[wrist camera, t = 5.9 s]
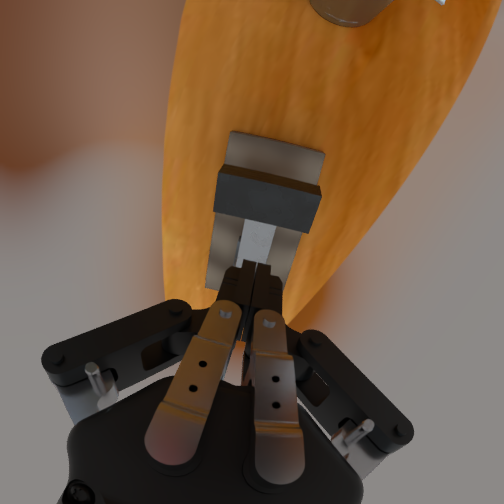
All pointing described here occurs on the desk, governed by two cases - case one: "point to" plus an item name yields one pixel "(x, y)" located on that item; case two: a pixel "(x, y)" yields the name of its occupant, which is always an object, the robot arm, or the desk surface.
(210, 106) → the desk surface
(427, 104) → the desk surface
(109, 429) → the robot arm
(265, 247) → the lever
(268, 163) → the base
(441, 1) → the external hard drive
